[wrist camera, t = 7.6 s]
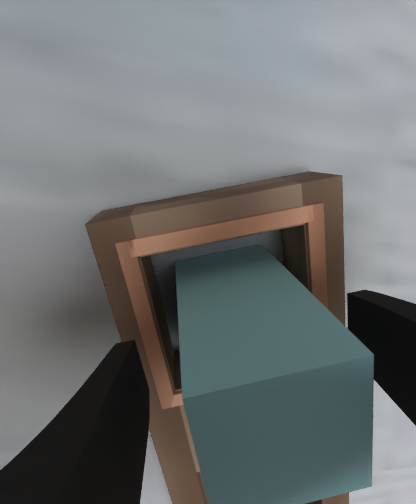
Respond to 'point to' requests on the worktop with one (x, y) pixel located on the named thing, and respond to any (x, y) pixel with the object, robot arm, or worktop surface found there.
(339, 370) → the peg
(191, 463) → the wooden double hole frame
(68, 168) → the worktop surface
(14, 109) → the worktop surface
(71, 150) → the worktop surface
